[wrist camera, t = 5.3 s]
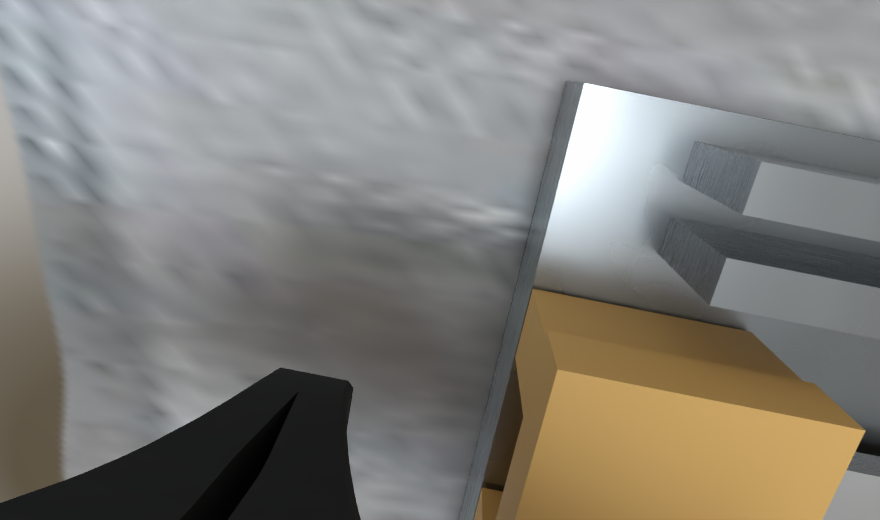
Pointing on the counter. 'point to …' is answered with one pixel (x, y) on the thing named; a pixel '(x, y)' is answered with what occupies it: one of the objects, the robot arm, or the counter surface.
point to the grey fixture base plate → (704, 244)
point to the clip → (663, 422)
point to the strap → (857, 491)
